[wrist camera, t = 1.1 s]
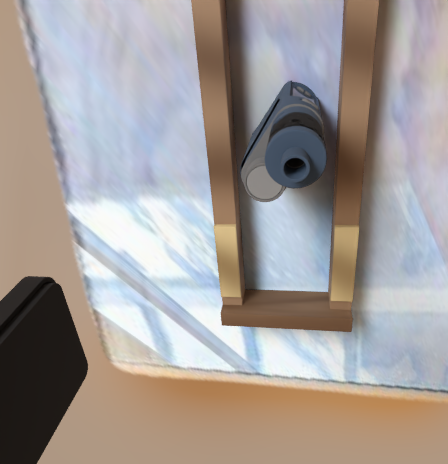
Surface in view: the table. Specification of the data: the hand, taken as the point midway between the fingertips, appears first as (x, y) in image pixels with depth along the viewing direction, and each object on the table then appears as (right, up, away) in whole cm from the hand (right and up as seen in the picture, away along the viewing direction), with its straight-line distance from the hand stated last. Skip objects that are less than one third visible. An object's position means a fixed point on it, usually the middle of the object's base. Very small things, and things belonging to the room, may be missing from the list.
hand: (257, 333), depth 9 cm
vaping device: (+3, +10, +17) cm, 19 cm away
